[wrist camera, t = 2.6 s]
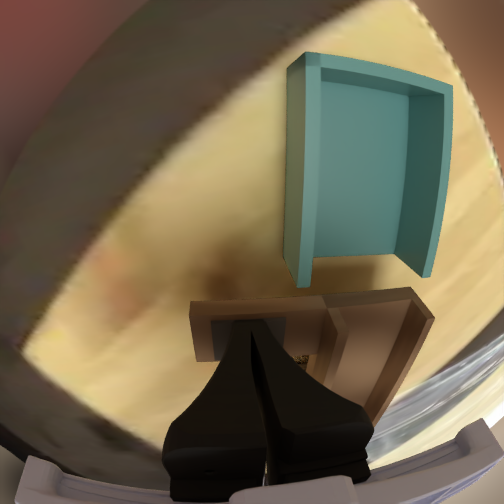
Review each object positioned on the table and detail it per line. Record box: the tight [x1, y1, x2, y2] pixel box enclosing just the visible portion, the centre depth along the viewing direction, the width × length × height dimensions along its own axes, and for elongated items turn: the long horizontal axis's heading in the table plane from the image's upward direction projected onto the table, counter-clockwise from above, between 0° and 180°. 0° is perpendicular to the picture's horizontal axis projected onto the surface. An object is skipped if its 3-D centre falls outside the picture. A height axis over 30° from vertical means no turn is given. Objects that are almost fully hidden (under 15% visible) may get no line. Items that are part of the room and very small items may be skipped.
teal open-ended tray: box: [283, 52, 453, 288], centre depth 13 cm, size 10×8×4 cm
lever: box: [189, 287, 435, 427], centre depth 17 cm, size 18×12×3 cm, turn 179°
